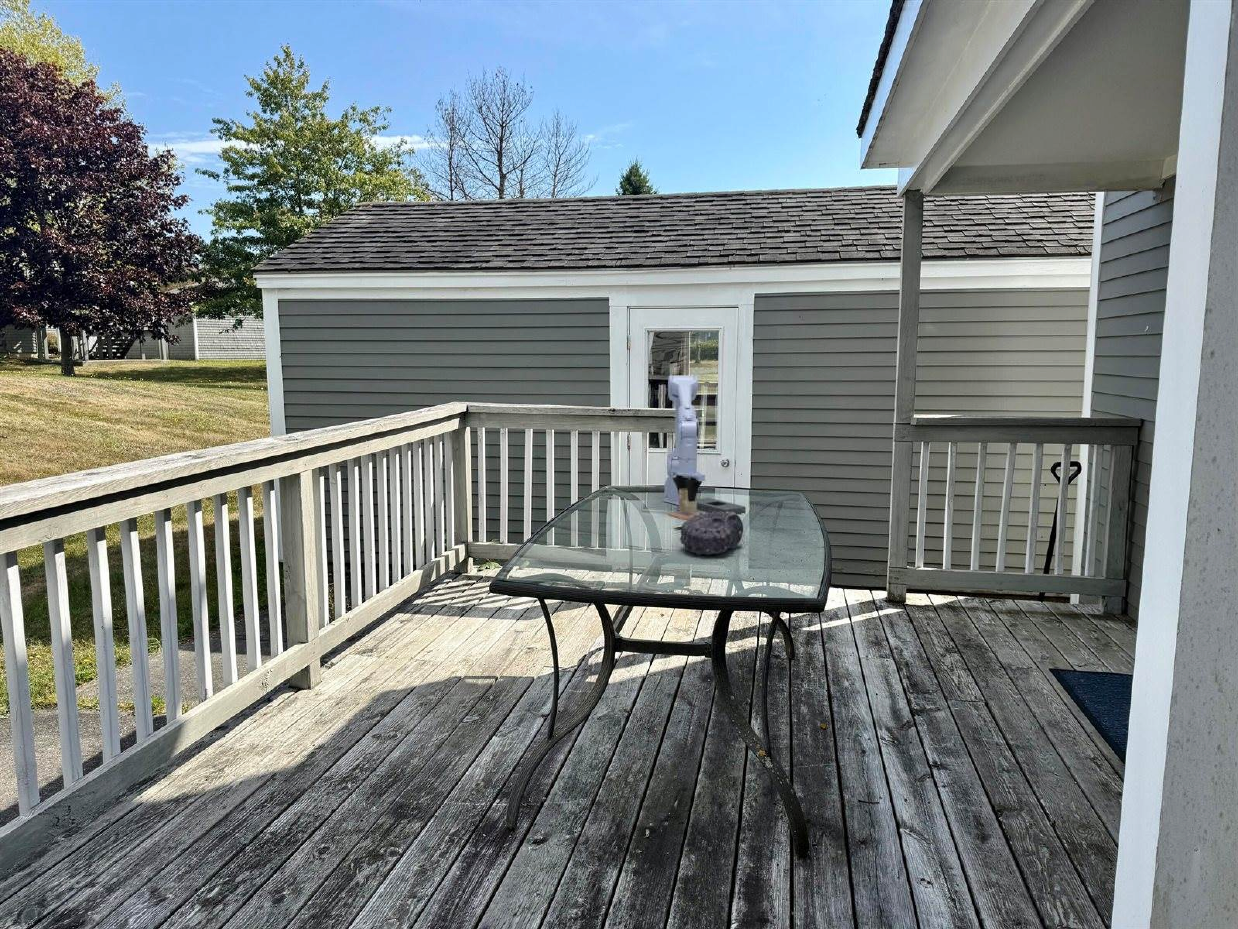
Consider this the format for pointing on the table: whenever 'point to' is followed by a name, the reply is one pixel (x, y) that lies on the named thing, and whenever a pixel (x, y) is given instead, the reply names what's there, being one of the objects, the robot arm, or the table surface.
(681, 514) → the tile
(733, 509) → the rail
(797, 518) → the table surface
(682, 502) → the peg
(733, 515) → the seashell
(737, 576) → the table surface
